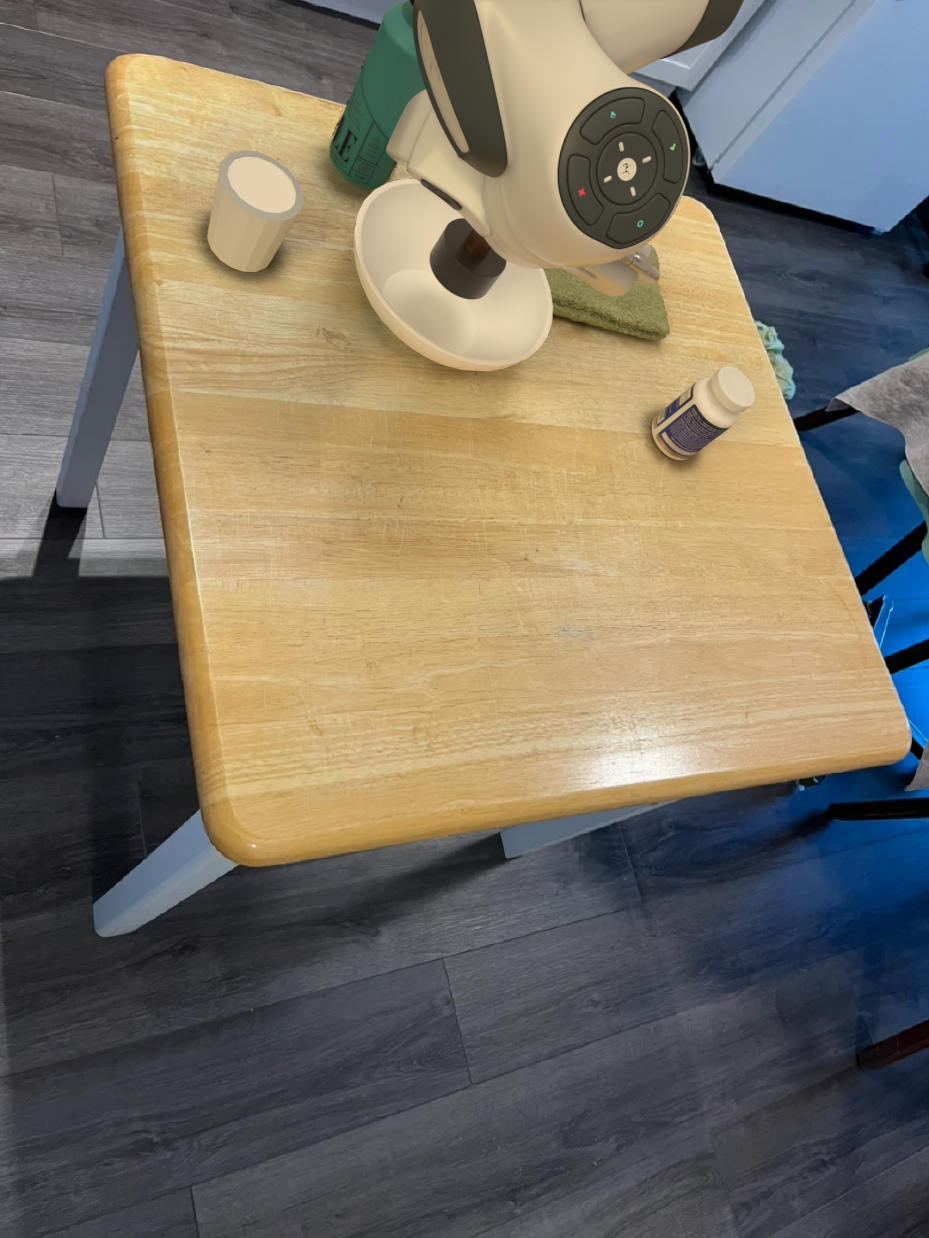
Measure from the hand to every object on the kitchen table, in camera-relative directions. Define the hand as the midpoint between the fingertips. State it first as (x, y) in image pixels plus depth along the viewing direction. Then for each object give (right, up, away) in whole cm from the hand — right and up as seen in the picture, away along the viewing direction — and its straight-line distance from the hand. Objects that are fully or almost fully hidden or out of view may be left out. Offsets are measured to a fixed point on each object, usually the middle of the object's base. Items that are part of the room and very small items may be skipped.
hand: (499, 211), depth 70 cm
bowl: (-6, -4, +13) cm, 15 cm away
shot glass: (-22, -1, +5) cm, 23 cm away
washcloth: (+11, +4, +26) cm, 28 cm away
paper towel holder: (-3, -2, +7) cm, 8 cm away
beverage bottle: (-14, +10, +15) cm, 22 cm away
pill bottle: (+19, -14, +23) cm, 33 cm away
